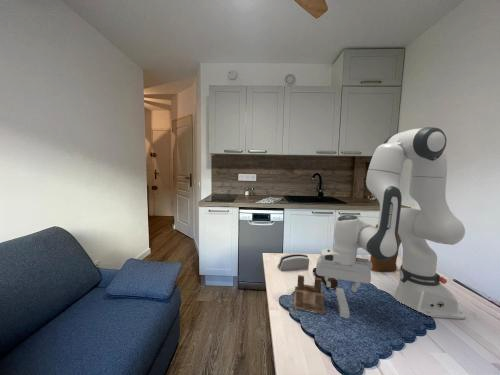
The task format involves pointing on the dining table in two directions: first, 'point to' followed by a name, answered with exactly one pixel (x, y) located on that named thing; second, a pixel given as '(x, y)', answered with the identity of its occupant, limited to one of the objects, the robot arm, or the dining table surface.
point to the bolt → (332, 280)
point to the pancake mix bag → (384, 262)
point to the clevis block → (309, 296)
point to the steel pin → (342, 303)
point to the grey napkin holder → (294, 261)
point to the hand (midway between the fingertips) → (340, 288)
